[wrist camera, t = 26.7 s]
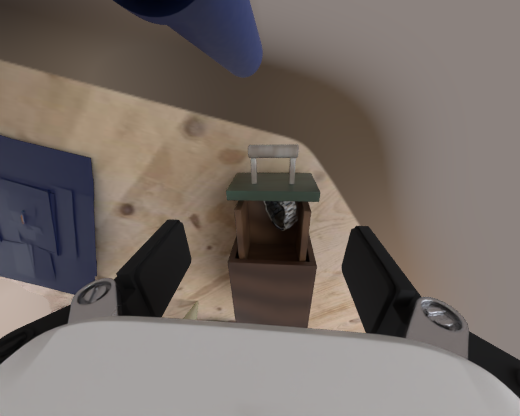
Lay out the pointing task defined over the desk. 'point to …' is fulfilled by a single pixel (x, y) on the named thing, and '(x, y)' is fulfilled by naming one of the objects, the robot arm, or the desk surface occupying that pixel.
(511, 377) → the robot arm
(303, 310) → the cabinet
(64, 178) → the dark blue flat piece
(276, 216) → the wristwatch
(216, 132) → the desk surface
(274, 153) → the drawer
